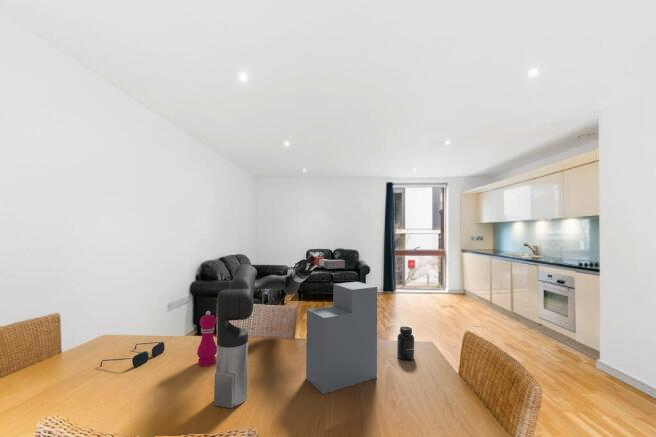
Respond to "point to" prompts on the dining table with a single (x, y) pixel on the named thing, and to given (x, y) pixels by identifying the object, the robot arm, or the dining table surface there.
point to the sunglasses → (144, 354)
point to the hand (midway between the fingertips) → (316, 257)
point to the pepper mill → (207, 341)
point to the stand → (343, 338)
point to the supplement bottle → (405, 344)
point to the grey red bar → (328, 262)
